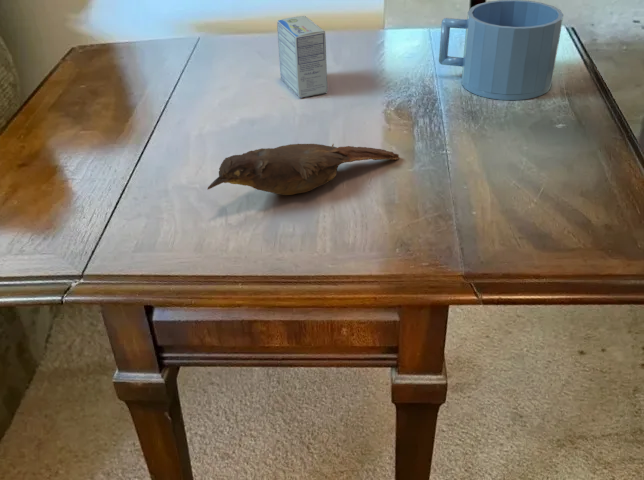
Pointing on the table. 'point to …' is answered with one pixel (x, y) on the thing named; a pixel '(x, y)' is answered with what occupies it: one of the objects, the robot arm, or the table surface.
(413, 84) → the table surface
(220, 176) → the bird sculpture
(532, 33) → the mug
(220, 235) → the table surface
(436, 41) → the table surface
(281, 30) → the medicine box
